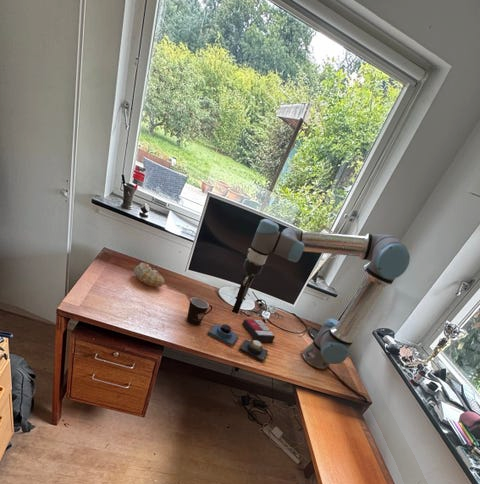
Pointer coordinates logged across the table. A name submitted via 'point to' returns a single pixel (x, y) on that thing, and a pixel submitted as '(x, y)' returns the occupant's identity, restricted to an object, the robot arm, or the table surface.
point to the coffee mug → (197, 310)
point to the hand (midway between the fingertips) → (234, 312)
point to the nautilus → (148, 275)
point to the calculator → (258, 330)
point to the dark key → (226, 328)
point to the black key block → (253, 351)
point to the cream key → (256, 344)
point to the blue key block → (223, 335)
